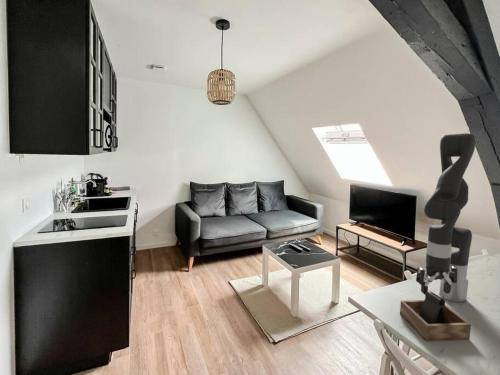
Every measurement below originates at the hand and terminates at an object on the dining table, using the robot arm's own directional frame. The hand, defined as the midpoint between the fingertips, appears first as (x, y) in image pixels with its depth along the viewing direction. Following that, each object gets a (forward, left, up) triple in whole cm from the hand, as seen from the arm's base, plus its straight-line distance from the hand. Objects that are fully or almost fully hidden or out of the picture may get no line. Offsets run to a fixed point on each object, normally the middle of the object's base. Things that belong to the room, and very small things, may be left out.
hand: (435, 293), depth 101 cm
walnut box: (0, 0, -14) cm, 14 cm away
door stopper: (0, 0, -13) cm, 13 cm away
